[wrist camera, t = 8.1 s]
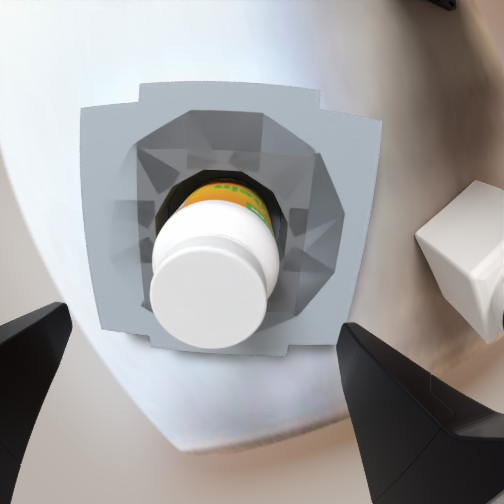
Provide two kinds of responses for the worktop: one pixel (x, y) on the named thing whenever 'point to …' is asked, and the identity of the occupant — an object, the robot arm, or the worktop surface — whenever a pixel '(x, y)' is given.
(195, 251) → the supplement bottle
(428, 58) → the worktop surface
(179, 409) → the worktop surface
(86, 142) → the socket block
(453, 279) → the medicine bottle
